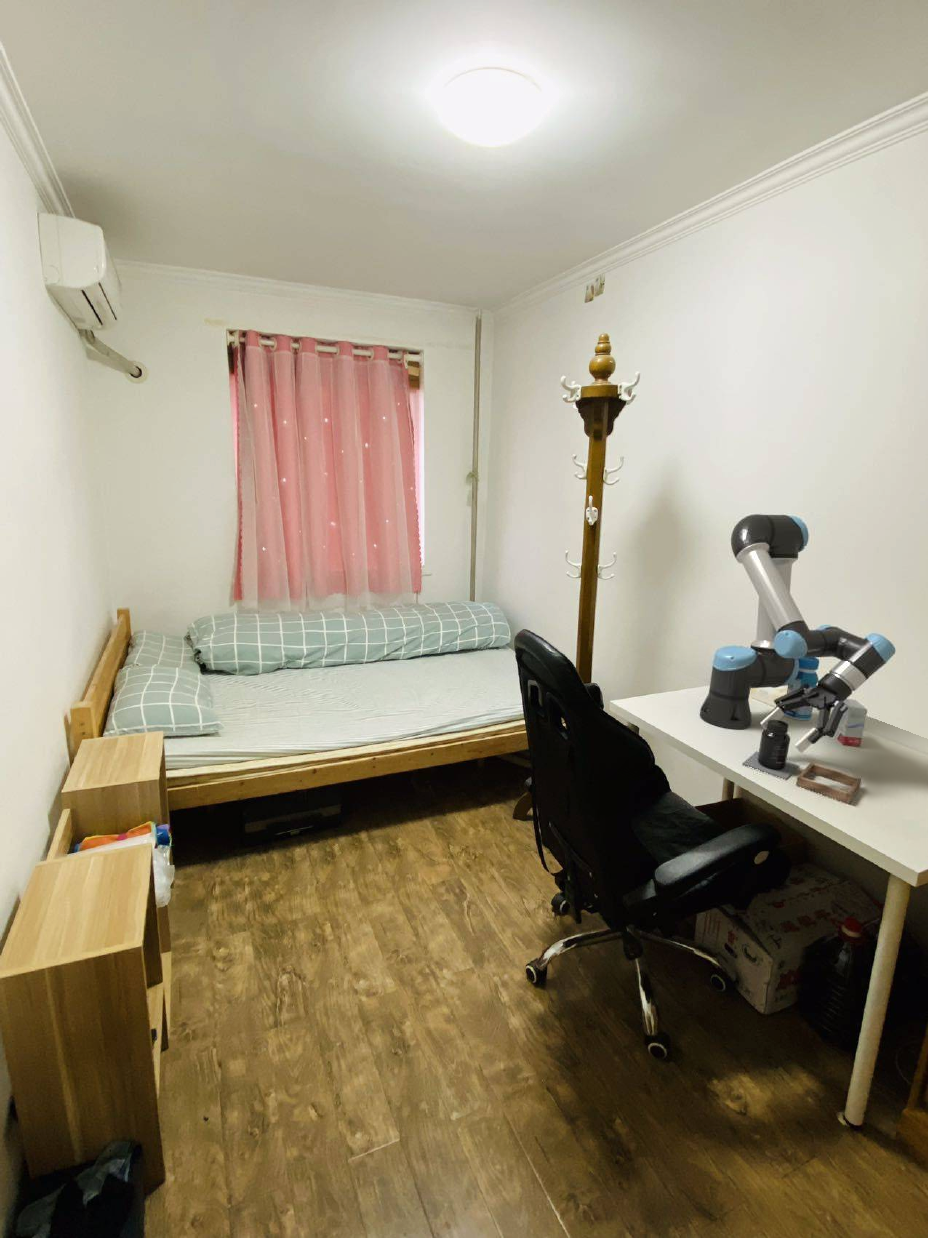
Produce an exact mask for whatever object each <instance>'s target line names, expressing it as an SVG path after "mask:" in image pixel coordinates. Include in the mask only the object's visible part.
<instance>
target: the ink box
mask: <svg viewBox="0 0 928 1238" xmlns="http://www.w3.org/2000/svg"><path fill="white" fill-rule="evenodd" d="M843 702H844V703H845V704H846V706H847V707H848V709H847V710H846V712H845V713H844V714H843V716H842V718H841V720H840V723H839V725H838V728H837V730H836V732H835V735H834V737H835V738H836V739H837V740H838V741H839V742H840V743H841V744H842V745H844V746H852V747H853V746H854V747H861V742H862V738H863V735H864V729H865V723H866V719H867V714H868V709H867V708H866V707H865V706H863V704H861V703H860V702H859V701H858V700H857V699H851V698H847V699H846V700H844V701H843Z"/></svg>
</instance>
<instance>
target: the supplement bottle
mask: <svg viewBox="0 0 928 1238" xmlns="http://www.w3.org/2000/svg"><path fill="white" fill-rule="evenodd" d="M788 731H789V724H788V723H787V722H785V721H782V720H780V719H779V720H769V721H768V725H767V729H765V728H764V730H763V731H762V732H761V736H760V741H759V742H760V743H759V746H758V747H759V748H758V752H759V753H758V762H759V764H760V765H762V766H764V767H766V768H769V769H774V770H780V769H783V768H784V767H785V765H786V761H787V758H788V754H789V747H790V744H791V736H790V735H789V734H788Z"/></svg>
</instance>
